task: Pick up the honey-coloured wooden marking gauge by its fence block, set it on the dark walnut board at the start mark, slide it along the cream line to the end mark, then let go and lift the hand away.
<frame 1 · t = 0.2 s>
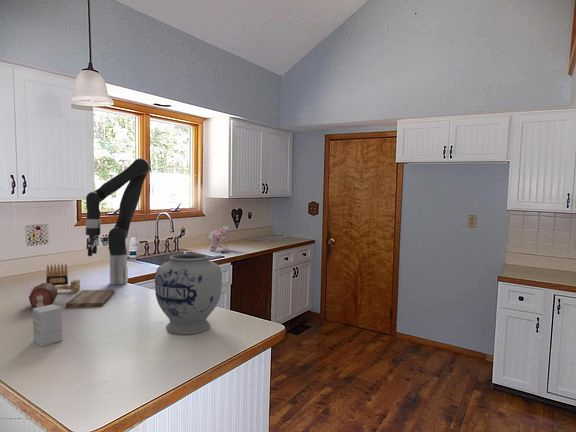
hand: (92, 254, 226), 17 cm above the counter, tool pointing down, fingers open, 8 cm apart
flower: (217, 252, 348), on the counter
meat: (43, 306, 185), on the counter
supplement box: (47, 341, 145), on the counter
ammunition clip: (57, 284, 225), on the counter
walnut board: (91, 300, 197), on the counter
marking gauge: (75, 291, 211), on the counter
apothecary jar: (188, 327, 163), on the counter
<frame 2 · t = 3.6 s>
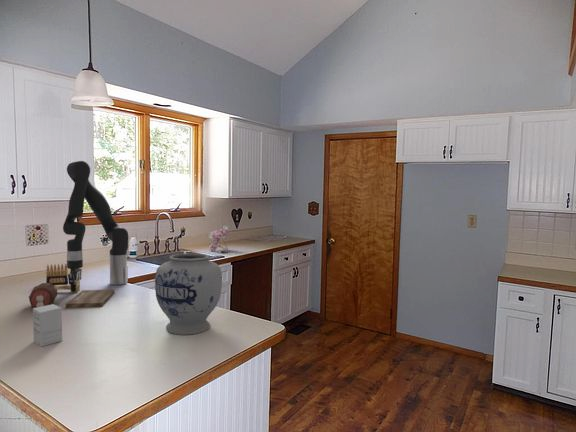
hand: (75, 290, 211), 1 cm above the counter, tool pointing down, fingers closed on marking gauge, 5 cm apart
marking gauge: (75, 291, 211), on the counter, touching gripper
everything else where it was.
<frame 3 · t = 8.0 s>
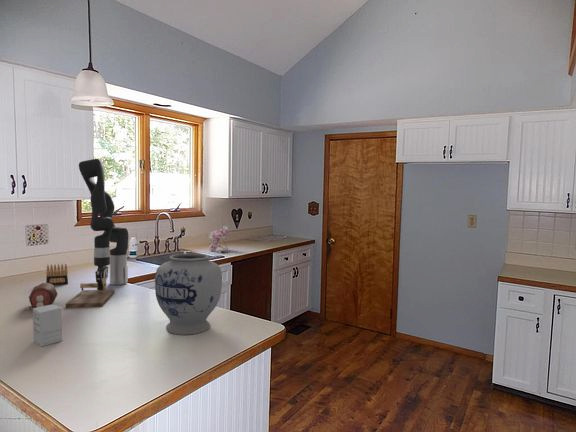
hand: (102, 288, 203), 4 cm above the counter, tool pointing down, fingers closed on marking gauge, 5 cm apart
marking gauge: (101, 290, 203), point 3 cm above the counter, touching gripper
everything else where it was.
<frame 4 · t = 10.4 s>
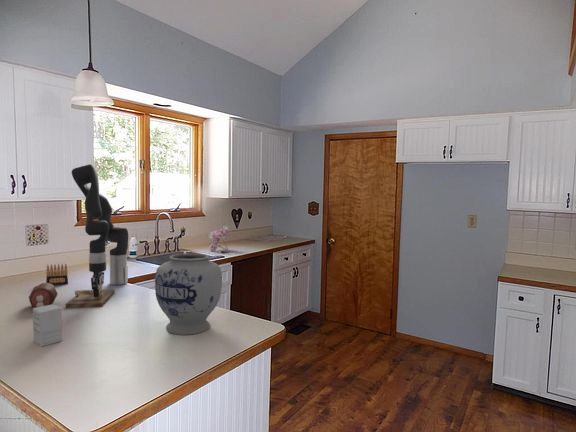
hand: (97, 295, 193), 3 cm above the counter, tool pointing down, fingers closed on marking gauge, 5 cm apart
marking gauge: (97, 297, 193), point 2 cm above the counter, touching gripper
everything else where it was.
when the fingers open (3 cm above the counter, at t = 12.3 s): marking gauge stays where it is, resting on walnut board.
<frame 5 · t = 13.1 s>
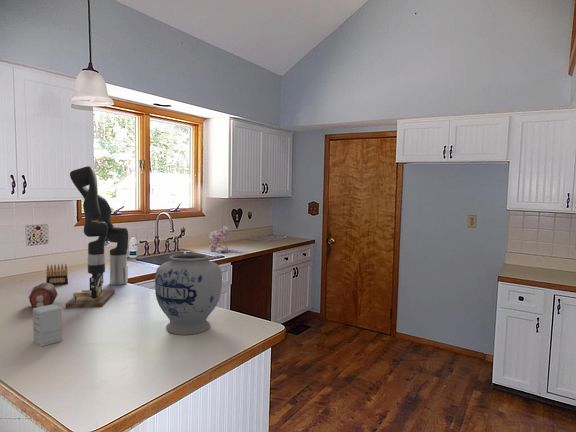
hand: (96, 295, 191), 4 cm above the counter, tool pointing down, fingers open, 8 cm apart
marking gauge: (96, 299, 191), point 2 cm above the counter, touching walnut board
everything else where it was.
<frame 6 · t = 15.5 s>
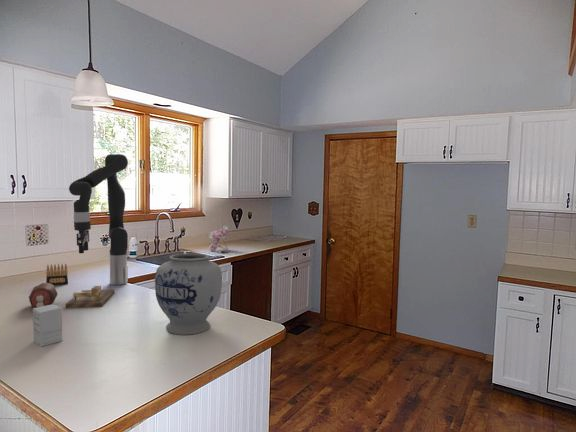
hand: (83, 251, 203), 23 cm above the counter, tool pointing down, fingers open, 8 cm apart
nothing on the counter moved.
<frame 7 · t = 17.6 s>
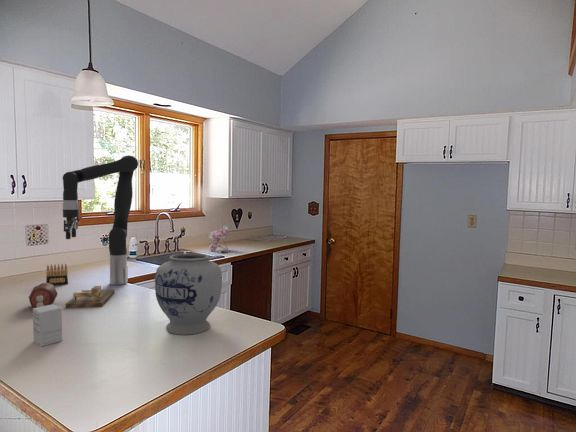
hand: (71, 238, 215), 28 cm above the counter, tool pointing down, fingers open, 8 cm apart
nothing on the counter moved.
at the end: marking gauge 0.2 cm from the target spot, point 2.0 cm above the counter; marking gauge tilted 1°; the gripper is holding nothing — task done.
